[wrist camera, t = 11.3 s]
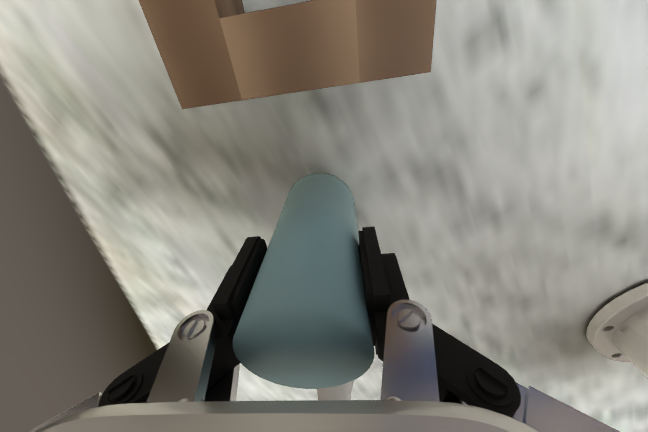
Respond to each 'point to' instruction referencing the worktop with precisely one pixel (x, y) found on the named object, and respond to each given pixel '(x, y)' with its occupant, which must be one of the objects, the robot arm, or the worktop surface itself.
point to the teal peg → (309, 294)
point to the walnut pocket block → (287, 45)
